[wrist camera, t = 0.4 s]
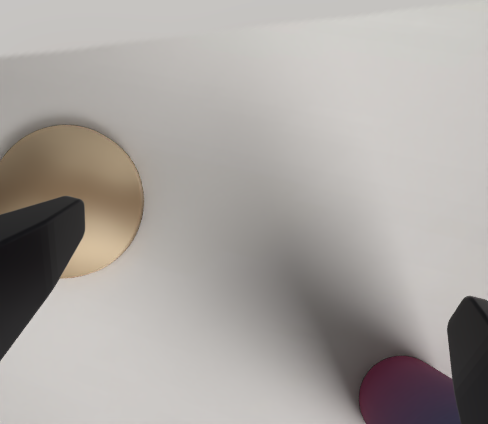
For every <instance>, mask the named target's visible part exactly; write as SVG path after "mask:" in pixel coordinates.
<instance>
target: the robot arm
mask: <svg viewBox="0 0 488 424" xmlns="http://www.w3.org/2000/svg"><path fill="white" fill-rule="evenodd" d="M84 233H85V206H84V202H83V201H82V200H81V199H78V198H74V197H70V196H62V197H58V198H55V199H52V200H48V201H45V202H41V203H38V204H35V205H31V206H28V207H24V208H21V209H18V210H14V211H11V212H7V213H4V214H1V215H0V361H1V359H2V358H3V357H4V355H5V354H6V353H7V351H8V350H9V348H10V347H11V346H12V344H13V343H14V342H15V340H16V339H17V338H18V336H19V335H20V334H21V332H22V331H23V330H24V328H25V327H26V325H27V324H28V323H29V321H30V320H31V319H32V317H33V316H34V315H35V313H36V312H37V311H38V309H39V308H40V307H41V305H42V304H43V302H44V301H45V300H46V298H47V297H48V296H49V294H50V293H51V291H52V290H53V288H54V287H55V285H56V284H57V282H58V280H59V279H60V277H61V275H62V273H63V272H64V270H65V268H66V266H67V265H68V263H69V261H70V259H71V258H72V256H73V254H74V252H75V251H76V249H77V247H78V245H79V244H80V242H81V240H82V238H83V236H84ZM447 333H448V342H449V352H450V361H451V371H452V380H453V388H454V394H455V399H456V404H457V409H458V413H459V418H460V422H461V424H488V301H487V300H485V299H481V298H477V297H473V296H467V297H465V298H464V299H463V300H462V301H461V303H460V304H459V306H458V308H457V309H456V311H455V312H454V314H453V315H452V317H451V318H450V320H449V322H448V326H447Z"/></svg>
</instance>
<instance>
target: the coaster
mask: <svg viewBox="0 0 488 424" xmlns="http://www.w3.org/2000/svg"><path fill="white" fill-rule="evenodd" d="M62 196H70V197H74V198H78V199H81V200H82V201H83V202H84V206H85V233H84V236H83V238H82V240H81V242H80V244H79V245H78V247H77V249H76V251H75V252H74V254H73V256H72V258H71V259H70V261H69V263H68V265H67V266H66V268H65V270H64V272H63V273H62V275H61V277H60V278H73V277H78V276H83V275H87V274H90V273H93V272H96V271H98V270H100V269H102V268H104V267H106V266H108V265H109V264H111V263H112V262H114V261H115V260H116V259H117V258H118V257H119V256H121V255H122V254H123V252H124V251H125V250H126V249H127V248H128V247H129V245H130V244H131V242H132V241H133V239H134V237H135V235H136V233H137V231H138V229H139V226H140V223H141V219H142V214H143V206H144V196H143V188H142V182H141V179H140V176H139V173H138V171H137V169H136V167H135V165H134V163H133V162H132V160H131V159H130V157H129V156H128V155H127V154H126V152H125V151H124V150H123V149H122V148H121V147H120V146H118V145H117V144H116V143H115V142H113V141H112V140H110V139H109V138H107V137H106V136H104V135H102V134H100V133H98V132H96V131H94V130H91V129H88V128H85V127H81V126H76V125H56V126H51V127H46V128H43V129H40V130H37V131H35V132H33V133H31V134H29V135H27V136H25V137H24V138H22V139H21V140H19V141H18V142H17V143H16V144H15V145H14V146H12V147H11V148H10V150H9V151H8V152H7V153H6V154H5V155H4V157H3V158H2V160H1V161H0V215H1V214H4V213H7V212H11V211H14V210H18V209H21V208H24V207H28V206H31V205H35V204H38V203H41V202H45V201H48V200H52V199H55V198H58V197H62Z"/></svg>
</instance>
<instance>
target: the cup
mask: <svg viewBox="0 0 488 424" xmlns="http://www.w3.org/2000/svg"><path fill="white" fill-rule="evenodd" d="M359 405H360V410H361V413H362V416H363V418H364V420H365V423H366V424H461V422H460V418H459V413H458V409H457V404H456V399H455V394H454V388H453V380H452V379H451V378H449V377H448V376H446V375H444V374H443V373H441V372H440V371H438V370H436V369H435V368H433V367H431V366H430V365H428V364H427V363H425V362H423V361H421V360H419V359H416V358H414V357H409V356H394V357H389V358H387V359H384V360H382V361H380V362H379V363H377V364H376V365H374V366H373V367H372V368H371V369H370V370H369V371H368V373H367V374H366V376H365V378H364V379H363V382H362V384H361V387H360V393H359Z"/></svg>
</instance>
